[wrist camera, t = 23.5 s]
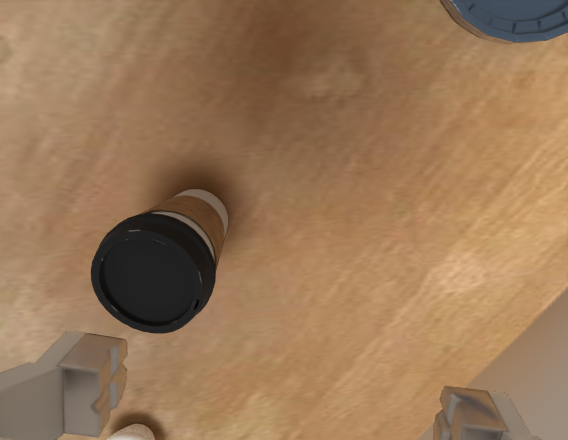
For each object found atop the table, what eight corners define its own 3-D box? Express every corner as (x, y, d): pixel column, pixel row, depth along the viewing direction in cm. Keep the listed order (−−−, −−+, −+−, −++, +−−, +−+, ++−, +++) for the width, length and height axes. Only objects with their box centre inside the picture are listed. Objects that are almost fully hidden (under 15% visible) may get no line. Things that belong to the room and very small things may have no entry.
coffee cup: (225, 273, 50) (186, 358, 35) (142, 242, 49) (69, 315, 35) (254, 195, 47) (225, 252, 33) (167, 161, 47) (100, 205, 32)
